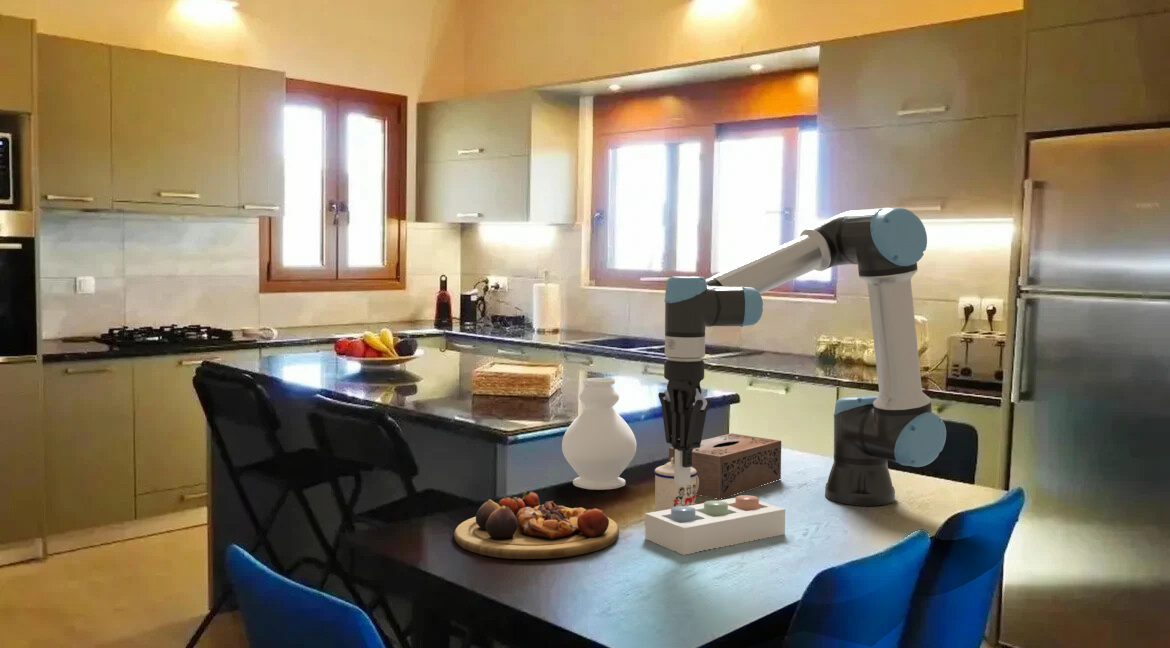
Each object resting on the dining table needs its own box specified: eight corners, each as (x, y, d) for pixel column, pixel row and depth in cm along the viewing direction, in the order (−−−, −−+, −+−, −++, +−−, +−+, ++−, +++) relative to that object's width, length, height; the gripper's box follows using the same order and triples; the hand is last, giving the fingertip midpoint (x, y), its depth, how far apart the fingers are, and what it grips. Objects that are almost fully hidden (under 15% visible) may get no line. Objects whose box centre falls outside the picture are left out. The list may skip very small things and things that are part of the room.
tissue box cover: (731, 472, 245) (731, 433, 244) (780, 481, 235) (781, 440, 235) (668, 490, 226) (668, 447, 225) (719, 500, 216) (720, 456, 216)
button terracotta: (747, 513, 195) (748, 494, 195) (763, 518, 191) (763, 499, 191) (730, 517, 193) (730, 497, 192) (745, 522, 189) (746, 502, 188)
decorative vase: (649, 480, 234) (650, 378, 233) (611, 496, 219) (612, 386, 218) (587, 472, 244) (587, 373, 242) (547, 486, 229) (547, 381, 227)
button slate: (685, 525, 186) (685, 505, 186) (700, 531, 183) (700, 510, 182) (666, 529, 184) (666, 508, 184) (680, 534, 180) (681, 513, 180)
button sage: (717, 519, 191) (717, 499, 190) (732, 524, 187) (732, 504, 187) (698, 522, 188) (699, 502, 188) (714, 528, 184) (714, 507, 184)
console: (743, 520, 199) (743, 496, 199) (784, 534, 189) (785, 509, 189) (645, 538, 186) (645, 513, 186) (683, 555, 176) (684, 528, 176)
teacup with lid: (677, 520, 200) (678, 464, 199) (645, 511, 206) (645, 457, 205) (714, 509, 208) (714, 456, 207) (681, 501, 214) (681, 449, 214)
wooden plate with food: (653, 537, 188) (653, 495, 188) (531, 573, 166) (530, 526, 165) (542, 510, 211) (541, 473, 210) (421, 539, 188) (420, 497, 188)
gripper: (647, 356, 184) (645, 478, 186) (690, 363, 173) (688, 492, 175) (678, 354, 188) (676, 474, 190) (722, 361, 178) (720, 488, 179)
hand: (682, 483), depth 183 cm, fingers closed
